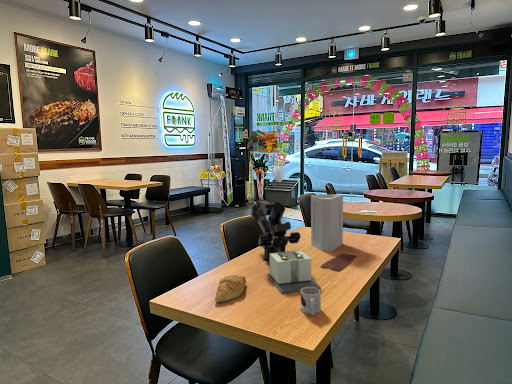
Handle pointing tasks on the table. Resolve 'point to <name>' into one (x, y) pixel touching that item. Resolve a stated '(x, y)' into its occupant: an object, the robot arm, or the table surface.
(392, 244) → the table surface
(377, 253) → the table surface
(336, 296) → the table surface
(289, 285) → the base plate
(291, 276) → the two-slot toaster
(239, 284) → the croissant
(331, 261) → the wooden tablet
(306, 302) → the mug
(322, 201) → the paper bag
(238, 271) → the table surface
